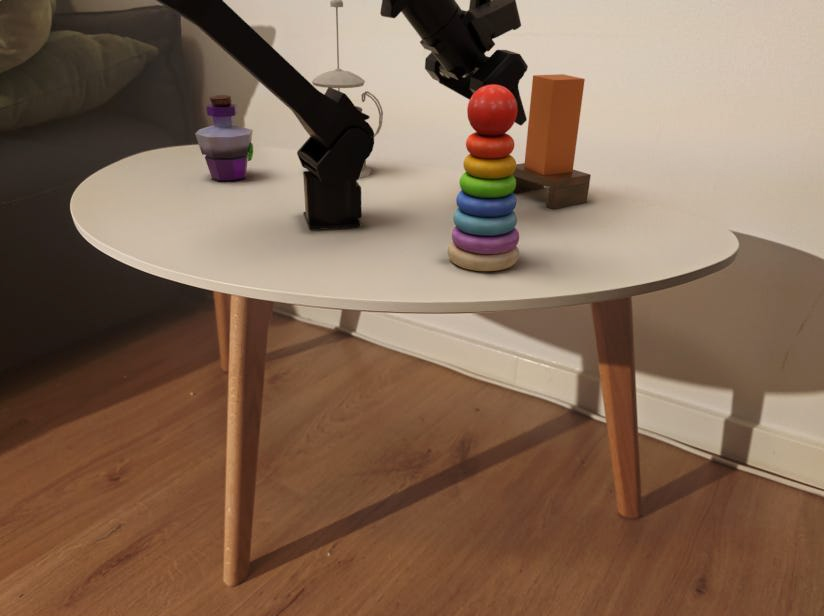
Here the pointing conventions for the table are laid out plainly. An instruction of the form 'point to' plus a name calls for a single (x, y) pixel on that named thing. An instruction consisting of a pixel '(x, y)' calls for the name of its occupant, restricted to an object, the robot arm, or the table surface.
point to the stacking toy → (487, 186)
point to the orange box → (553, 123)
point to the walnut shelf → (554, 186)
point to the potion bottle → (225, 142)
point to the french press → (346, 83)
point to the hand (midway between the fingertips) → (506, 114)
